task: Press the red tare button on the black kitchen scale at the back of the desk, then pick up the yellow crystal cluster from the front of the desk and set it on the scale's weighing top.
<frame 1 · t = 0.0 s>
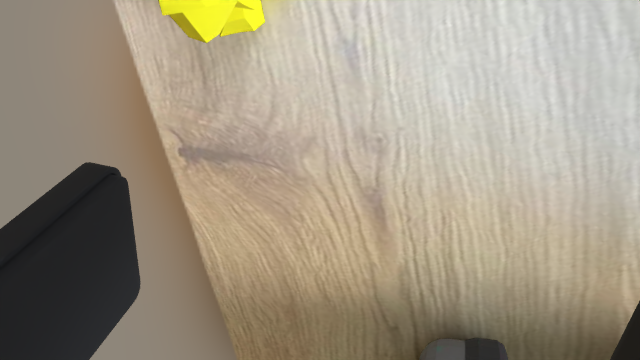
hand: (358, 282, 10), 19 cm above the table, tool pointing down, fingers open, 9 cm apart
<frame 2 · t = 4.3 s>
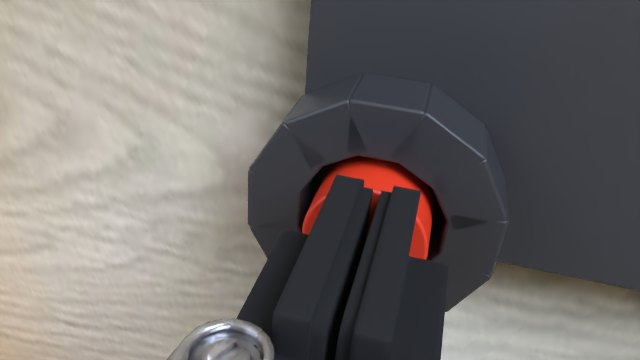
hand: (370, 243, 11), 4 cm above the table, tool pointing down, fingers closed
tare button: (369, 222, 12), point 3 cm above the table, slide at -0.3 cm, touching gripper
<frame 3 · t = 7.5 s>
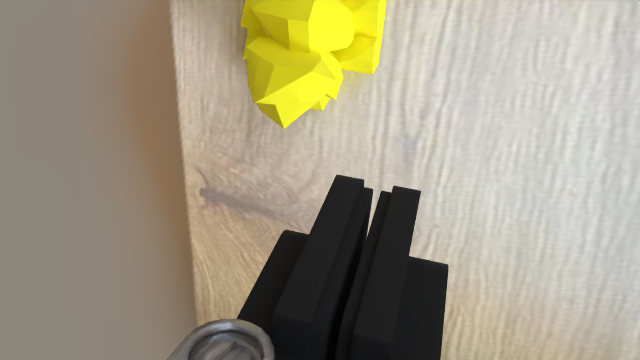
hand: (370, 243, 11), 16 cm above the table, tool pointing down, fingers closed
yellow crystal cluster: (321, 12, 26), on the table
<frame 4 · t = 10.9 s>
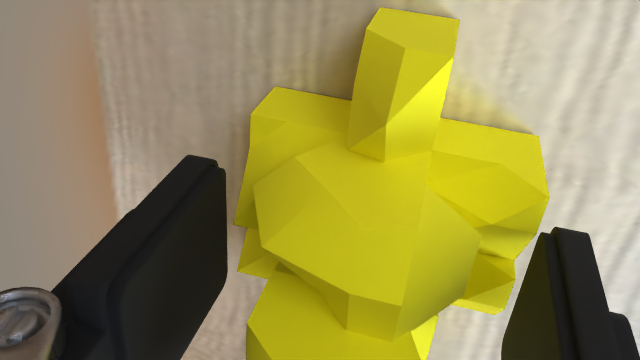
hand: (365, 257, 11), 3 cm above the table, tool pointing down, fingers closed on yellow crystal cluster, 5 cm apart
yellow crystal cluster: (389, 177, 14), on the table, touching gripper
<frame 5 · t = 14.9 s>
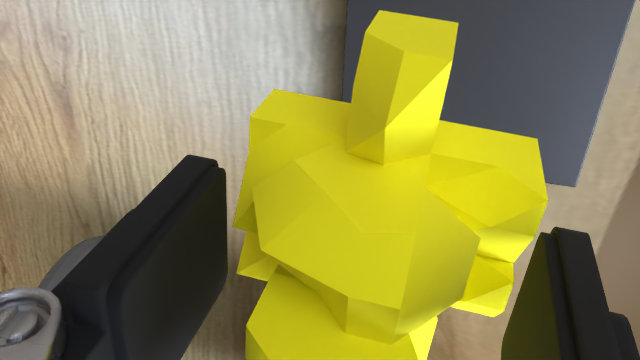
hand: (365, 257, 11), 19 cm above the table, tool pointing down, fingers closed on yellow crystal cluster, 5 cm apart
yellow crystal cluster: (388, 179, 14), point 16 cm above the table, touching gripper
headphones: (233, 295, 40), on the table
scale: (479, 15, 26), on the table
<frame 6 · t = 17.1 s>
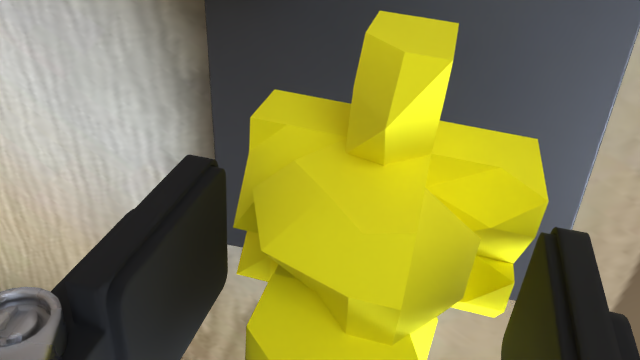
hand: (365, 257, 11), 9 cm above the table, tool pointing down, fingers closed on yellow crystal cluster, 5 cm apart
yellow crystal cluster: (389, 180, 14), point 6 cm above the table, touching gripper
scale: (402, 63, 18), on the table
when the fingers open (4 cm above the table, at t = 18.9 s): yellow crystal cluster stays where it is, resting on scale.
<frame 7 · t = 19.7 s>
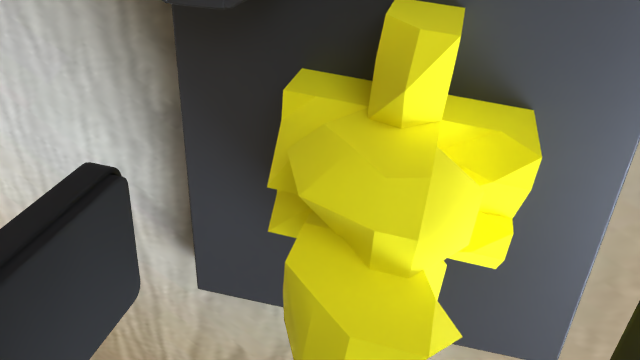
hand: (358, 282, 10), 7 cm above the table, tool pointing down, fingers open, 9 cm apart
yellow crystal cluster: (402, 150, 15), point 1 cm above the table, touching scale
scale: (396, 98, 16), on the table
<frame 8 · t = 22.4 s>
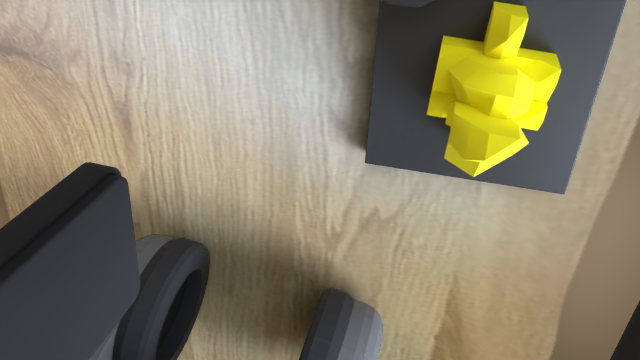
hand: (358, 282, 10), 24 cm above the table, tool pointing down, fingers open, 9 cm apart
yellow crystal cluster: (490, 76, 31), point 1 cm above the table, touching scale
headphones: (266, 286, 45), on the table
scale: (485, 51, 32), on the table
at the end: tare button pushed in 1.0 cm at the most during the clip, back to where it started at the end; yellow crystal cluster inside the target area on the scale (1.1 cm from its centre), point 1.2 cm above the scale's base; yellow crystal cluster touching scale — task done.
